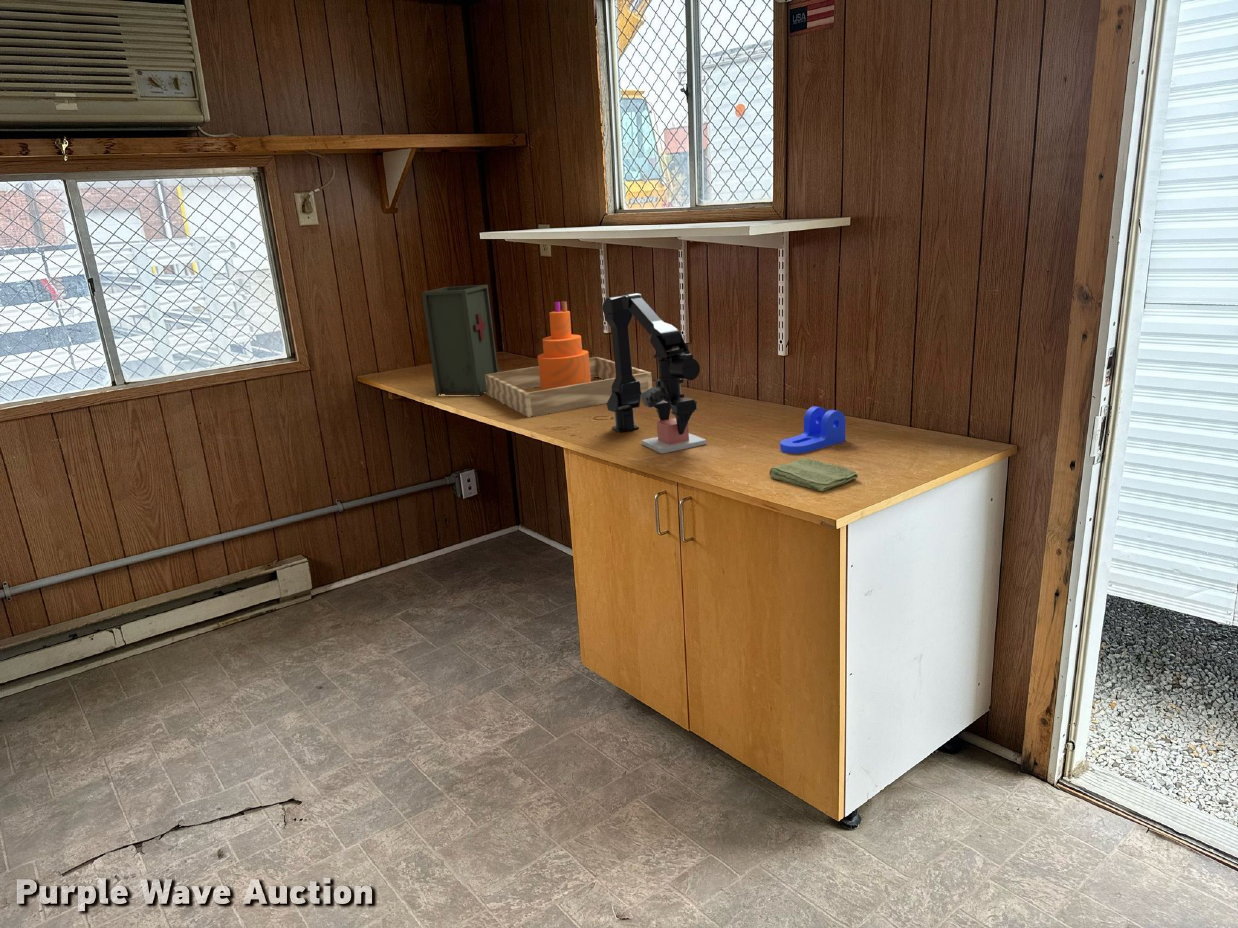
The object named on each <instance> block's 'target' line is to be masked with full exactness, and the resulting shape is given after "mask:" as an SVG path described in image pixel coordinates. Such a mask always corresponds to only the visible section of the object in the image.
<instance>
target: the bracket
mask: <svg viewBox="0 0 1238 928" xmlns="http://www.w3.org/2000/svg"><path fill="white" fill-rule="evenodd" d="M843 442H846V417H845V415H844V413H843V412H842V411H840V410H835V409H829V410H826V409H825V408H824V407H820V406H814V405H813V406H811V407H810V408H808V409H807V410H806V412H805V414H804V416H803V432H802V433H801V434H798V435H795V436H792V437H788V438H785V439H782V440H781V441H780V442H779V444H780V445H779V448H780V451H781V452H782V453H785V454H793V455H794V454H795V455H797V454H805V453H809V452H812V451H816V450H819V449H823V448H826V447H829V446H832V445H836V444H840V443H843Z"/></svg>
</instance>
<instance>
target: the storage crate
mask: <svg viewBox="0 0 1238 928" xmlns="http://www.w3.org/2000/svg"><path fill="white" fill-rule="evenodd" d="M589 365H590V376H591V379H593V378H592V377H596V376H598V377H599V378H598V379H599V380H594V381H591V382H587V383H581V384H576V385H570V386H564V387H558V388H552V389H546V390H541V389H540V390H535V391H530V392H527V391H526V390H530V389H535V388H534V387H538V388H541V384H540V375H539V366H537V365H536V366H530V367H524V368H518V369H517V368H516V369H512V370H511V369H510V370H506V371H498V373H491V374H485V381H486V389H487V393H486V395H487V396H488V395H489V396H488V397H490V396H492V397H493V398H495V399H497V400H498V401H497V400H496V401H497V402H499V401H500V402H499V403H501V402H502V403H501V404H503V405H504V404H506V405H507V406H506V405H505V406H506V407H508V406H509V407H508V408H510V407H511V408H510V409H512V410H514V411H515V410H516V411H515V412H517V413H520V414H521V413H522V415H523V416H525V417H526V416H527V417H526V418H531V416H533V417H538V416H543V415H549V414H548V413H550V414H553V413H561V412H565V411H572V410H577V409H582V408H587V407H592V406H597V405H604V404H607V402H608V400H609V398H610V396H611V395H612V384H613V382H614V380H615V378H616V371H615V361H613V360H610V359H606V358H602V357H599V356H594V357H589ZM632 374H633V377H634V378H635V379H636V381H639V382H640V390H641V394H642V393H644V392H645V391H647V390H649V389H650V388H653V378H652V376H653V375H652V372H651V371H647V370H644V369H640V368H637V367H633V366H632ZM600 378H602V379H600ZM603 379H604V380H603ZM525 389H526V390H525ZM492 397H491V398H492ZM493 398H492V399H493ZM495 399H494V400H495Z"/></svg>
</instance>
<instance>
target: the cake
mask: <svg viewBox="0 0 1238 928" xmlns="http://www.w3.org/2000/svg"><path fill="white" fill-rule="evenodd" d="M567 303H568V302H567V301H561V302H560V301H555V302H554V309H555V311H551V312H549V313H548V314H549V326H550V336H547V337H544V338H542V348H543V353H540V354H538V355H537V362H538V363H537V364H538V366H539V375H540V384H541V387H540V390H546V389H552V388H558V387H564V386H570V385H576V384H581V383H587V382H592V378H591V376H590V365H589V358H590V356H589V351H588V350H586V349H583V346H582V345H583V344H582V336H581V335H580V334H573V333H572V324H571V322H572V321H571V311H569V310H568V304H567Z"/></svg>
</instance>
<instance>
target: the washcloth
mask: <svg viewBox="0 0 1238 928" xmlns="http://www.w3.org/2000/svg"><path fill="white" fill-rule="evenodd" d="M768 474H769V477H771V478H772V479H774V480H778V481H779V482H783V483H788V484H791V485H795V486H799V487H800V486H801V487H803V488H808V489H811V490H815V491H816V492H817V491H818V492H822V493H823V492H826V491H827V490H830V489H832V488H835V487H838V486H841V485H844V484H846V483H848V482H850V481H852V480H855V479H857V478H858V477H859V475H858V473H857V472H856V471H854V470H851V469H850V468H847V467H845V466H841V465H836V464H831V463H826V462H823V461H820V460H816V459H812V458H801V459H800V458H799V459H796V460H793V461H790V462H789V463H786V464H785V463H783V464H779V465H776V466H773V467H771V468H770V469H769V473H768Z"/></svg>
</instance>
